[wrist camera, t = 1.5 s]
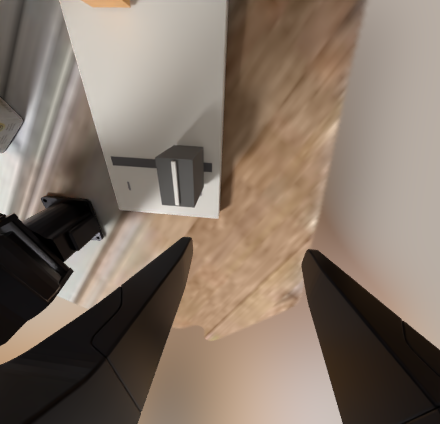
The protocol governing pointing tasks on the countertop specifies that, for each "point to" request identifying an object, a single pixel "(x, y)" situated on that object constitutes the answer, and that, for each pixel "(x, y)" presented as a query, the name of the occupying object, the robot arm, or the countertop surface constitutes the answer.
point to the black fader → (180, 175)
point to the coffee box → (8, 124)
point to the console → (154, 91)
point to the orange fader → (108, 3)
